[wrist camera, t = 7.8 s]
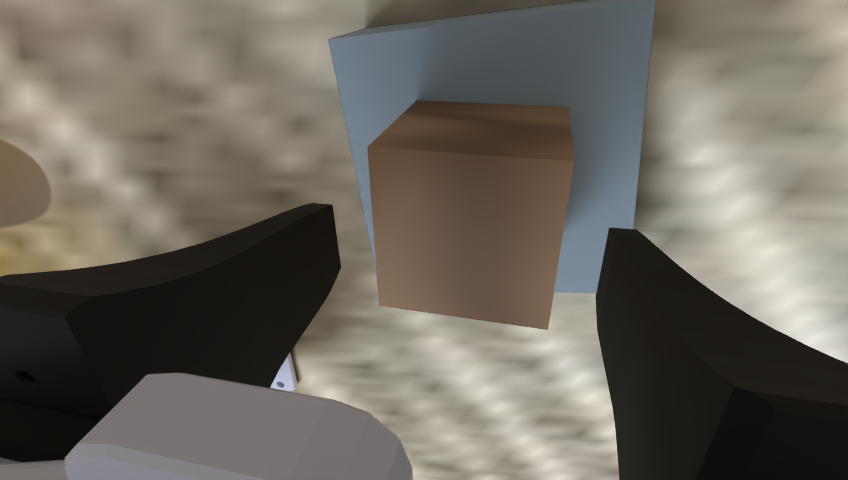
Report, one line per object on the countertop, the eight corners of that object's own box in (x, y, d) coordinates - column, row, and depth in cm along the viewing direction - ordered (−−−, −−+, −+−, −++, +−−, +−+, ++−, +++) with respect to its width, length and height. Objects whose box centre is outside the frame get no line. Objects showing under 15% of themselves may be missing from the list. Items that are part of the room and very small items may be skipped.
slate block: (403, 241, 24) (379, 286, 20) (368, 27, 19) (328, 39, 16) (614, 242, 21) (626, 294, 18) (634, -7, 16) (655, -1, 13)
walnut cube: (419, 228, 18) (379, 305, 14) (416, 100, 16) (366, 146, 12) (549, 242, 17) (547, 329, 13) (568, 107, 15) (574, 161, 11)
